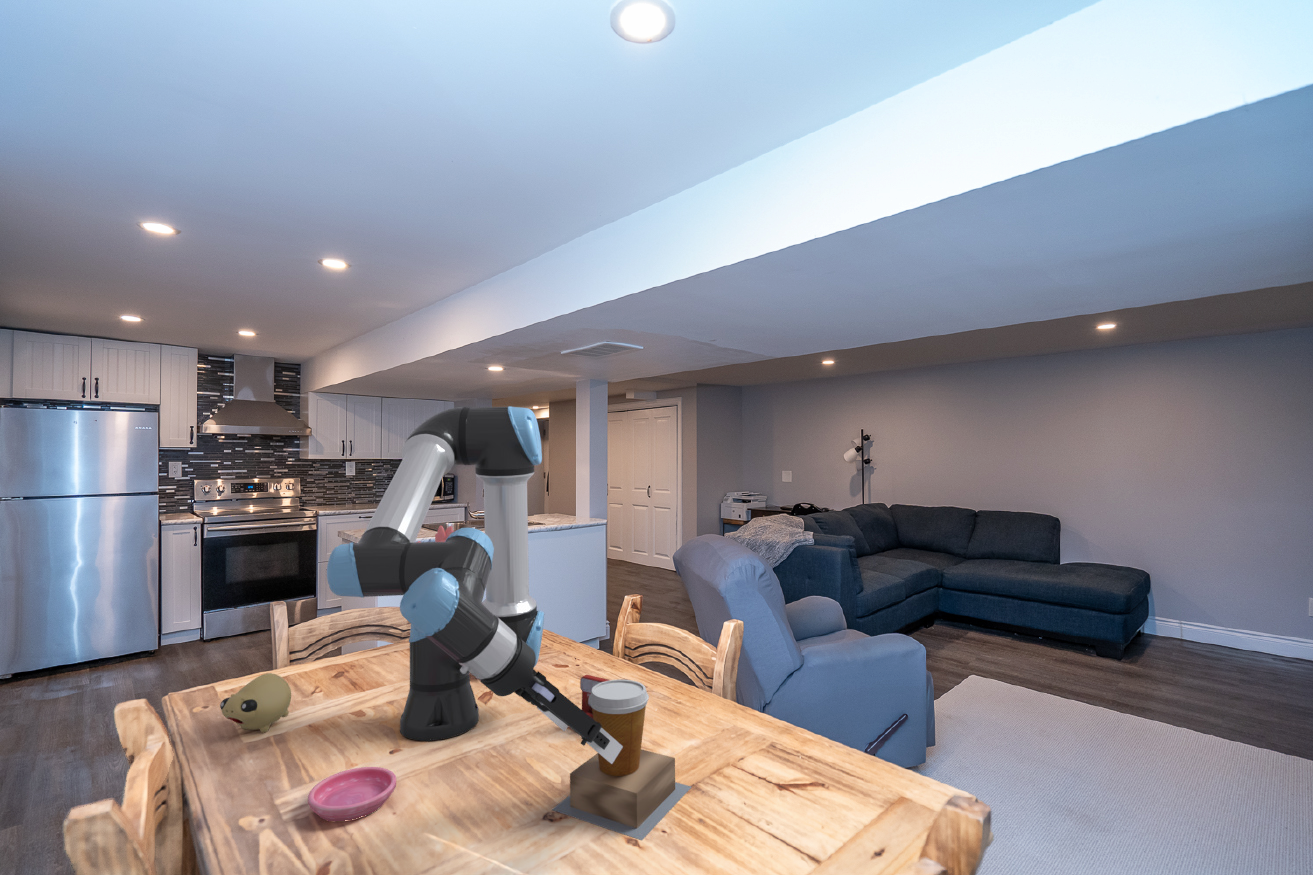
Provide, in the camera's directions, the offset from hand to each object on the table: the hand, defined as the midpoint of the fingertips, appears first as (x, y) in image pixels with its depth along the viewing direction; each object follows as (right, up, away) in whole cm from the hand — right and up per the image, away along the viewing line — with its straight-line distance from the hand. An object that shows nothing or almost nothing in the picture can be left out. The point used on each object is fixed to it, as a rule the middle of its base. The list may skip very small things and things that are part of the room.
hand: (591, 737), depth 94 cm
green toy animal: (-71, -13, +30) cm, 78 cm away
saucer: (-38, -12, +3) cm, 40 cm away
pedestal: (+5, -11, +3) cm, 13 cm away
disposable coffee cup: (+4, -6, +3) cm, 8 cm away
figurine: (-51, -15, +85) cm, 100 cm away
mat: (+5, -12, +3) cm, 13 cm away
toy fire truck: (0, -13, +28) cm, 31 cm away
